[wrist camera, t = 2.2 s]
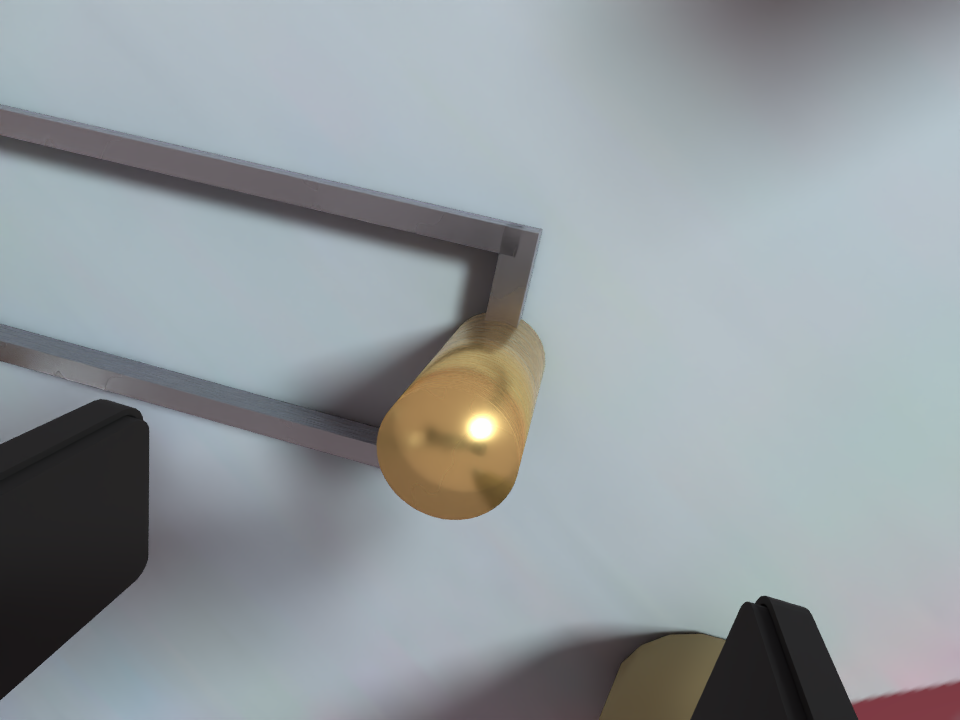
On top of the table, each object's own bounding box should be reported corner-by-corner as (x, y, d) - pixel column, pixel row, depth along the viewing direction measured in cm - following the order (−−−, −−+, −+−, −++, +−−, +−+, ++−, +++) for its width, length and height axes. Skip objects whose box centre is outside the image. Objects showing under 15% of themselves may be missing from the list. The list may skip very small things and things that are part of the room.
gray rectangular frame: (514, 486, 21) (476, 631, 14) (-203, 286, 24) (-500, 331, 18) (578, 237, 18) (567, 279, 12) (-249, 46, 21) (-627, -7, 15)
